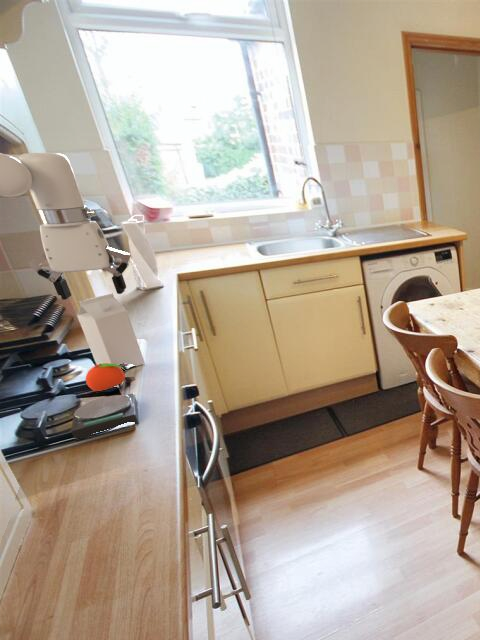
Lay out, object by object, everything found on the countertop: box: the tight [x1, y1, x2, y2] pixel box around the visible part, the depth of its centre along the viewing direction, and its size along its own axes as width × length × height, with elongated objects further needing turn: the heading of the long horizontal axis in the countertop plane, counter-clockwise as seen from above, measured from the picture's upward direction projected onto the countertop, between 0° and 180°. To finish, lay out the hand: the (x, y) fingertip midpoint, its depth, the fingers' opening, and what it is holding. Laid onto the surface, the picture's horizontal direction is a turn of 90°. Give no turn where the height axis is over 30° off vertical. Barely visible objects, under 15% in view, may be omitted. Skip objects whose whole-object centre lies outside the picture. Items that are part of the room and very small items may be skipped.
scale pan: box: [73, 394, 132, 421], centre depth 97 cm, size 9×9×1 cm
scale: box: [70, 392, 140, 439], centre depth 97 cm, size 11×10×3 cm
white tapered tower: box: [120, 213, 165, 292], centre depth 180 cm, size 8×8×28 cm
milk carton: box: [76, 292, 146, 367], centre depth 117 cm, size 7×7×19 cm
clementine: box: [85, 363, 127, 392], centre depth 108 cm, size 8×7×7 cm
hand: (94, 295), depth 104 cm, fingers open, 9 cm apart
